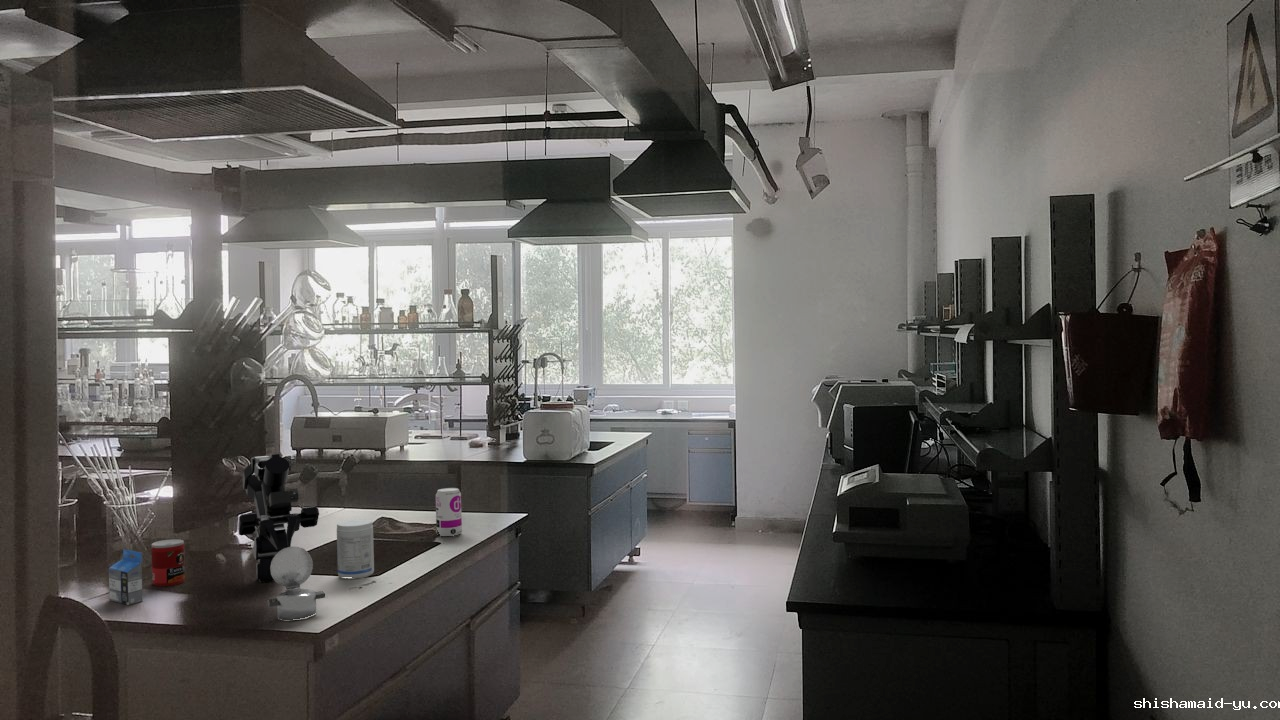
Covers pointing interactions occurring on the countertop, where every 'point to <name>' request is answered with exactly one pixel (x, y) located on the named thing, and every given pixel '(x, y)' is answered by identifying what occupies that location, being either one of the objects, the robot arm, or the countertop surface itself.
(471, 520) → the countertop surface
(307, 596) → the pot
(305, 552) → the lid
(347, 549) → the supplement tub
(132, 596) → the blue and grey carton
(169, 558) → the canned food
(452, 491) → the supplement can
